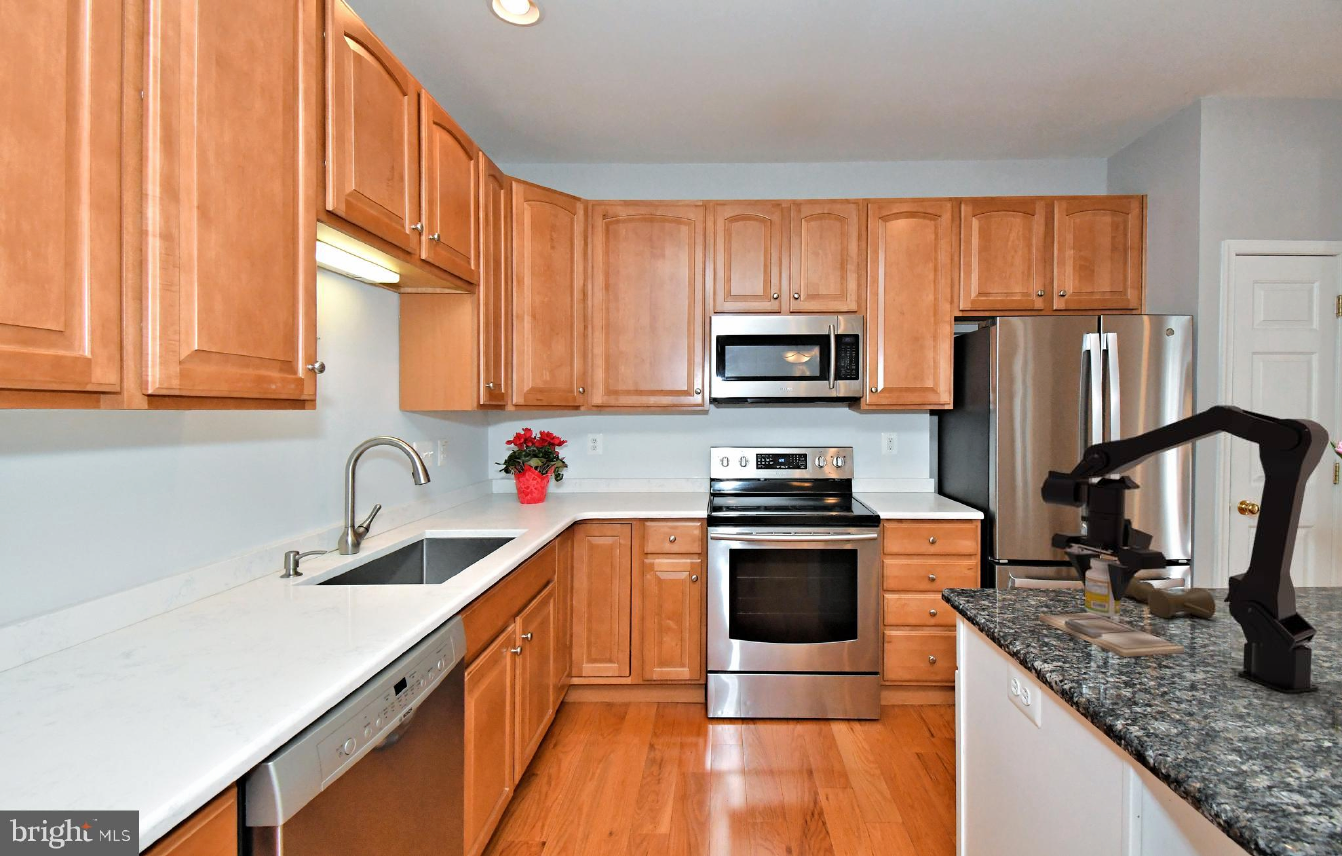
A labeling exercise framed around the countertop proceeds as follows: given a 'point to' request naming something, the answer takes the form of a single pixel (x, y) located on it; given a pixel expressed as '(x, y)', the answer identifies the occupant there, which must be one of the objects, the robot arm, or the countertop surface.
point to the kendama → (1172, 600)
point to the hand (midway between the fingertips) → (1103, 595)
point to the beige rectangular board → (1111, 634)
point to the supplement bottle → (1100, 589)
